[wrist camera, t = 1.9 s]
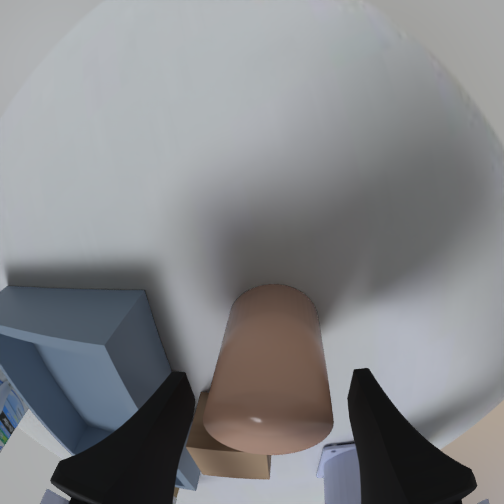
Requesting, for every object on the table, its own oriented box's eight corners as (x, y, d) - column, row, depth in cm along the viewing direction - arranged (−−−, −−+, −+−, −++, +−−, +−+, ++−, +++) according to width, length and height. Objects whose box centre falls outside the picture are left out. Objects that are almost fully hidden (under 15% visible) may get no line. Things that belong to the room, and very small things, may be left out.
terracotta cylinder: (319, 281, 15) (341, 386, 8) (316, 352, 16) (326, 452, 10) (223, 285, 15) (189, 387, 9) (234, 354, 17) (215, 452, 11)
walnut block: (270, 393, 18) (266, 452, 14) (272, 428, 20) (269, 479, 16) (201, 391, 19) (185, 446, 14) (213, 425, 21) (202, 474, 16)
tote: (144, 290, 16) (104, 345, 11) (205, 449, 23) (196, 490, 18) (7, 285, 17) (-29, 316, 13) (87, 423, 25) (71, 454, 20)
